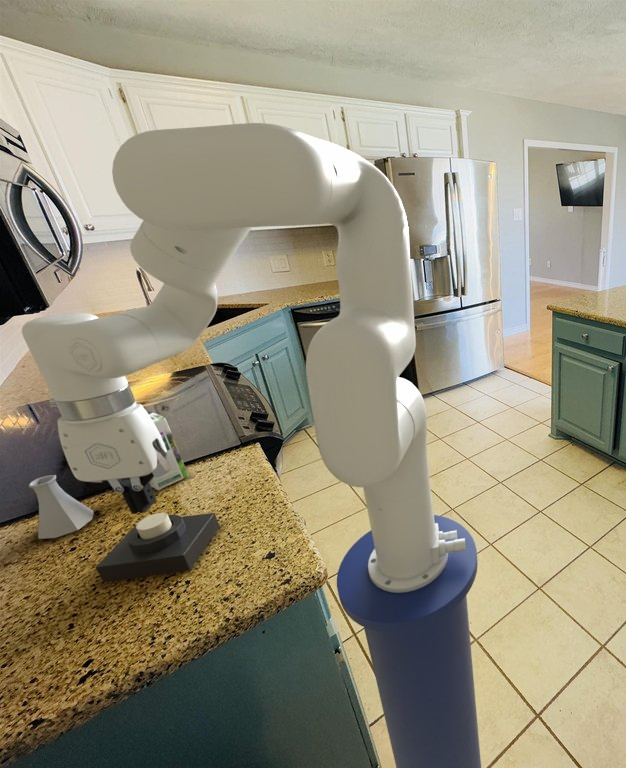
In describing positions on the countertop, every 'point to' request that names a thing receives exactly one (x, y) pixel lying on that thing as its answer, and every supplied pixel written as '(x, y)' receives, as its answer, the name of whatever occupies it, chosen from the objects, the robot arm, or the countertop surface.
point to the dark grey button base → (160, 549)
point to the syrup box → (173, 457)
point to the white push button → (153, 526)
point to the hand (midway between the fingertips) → (144, 507)
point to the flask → (58, 509)
